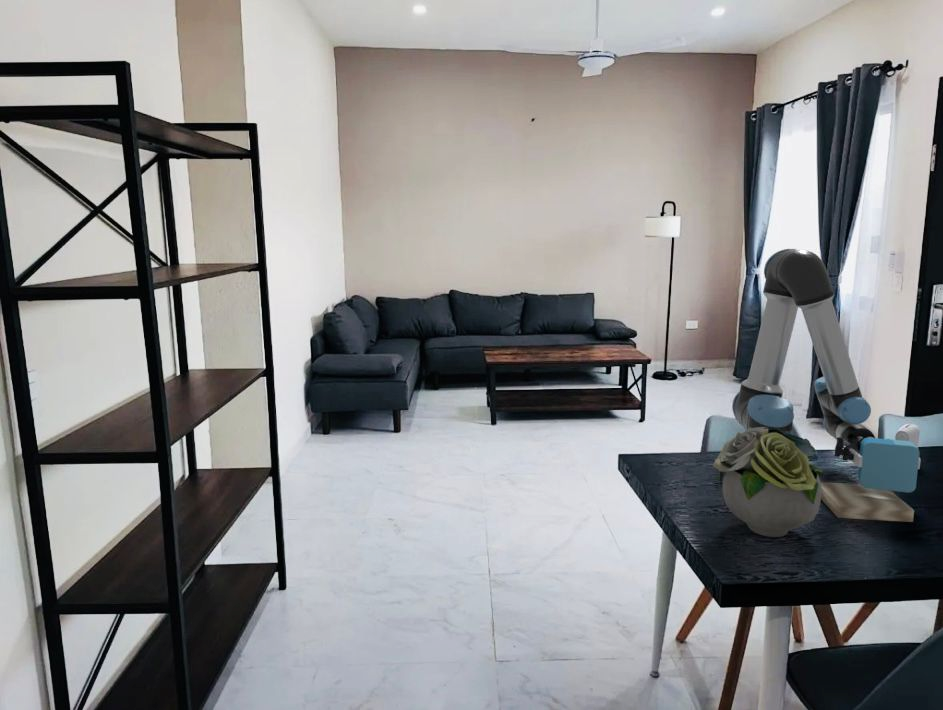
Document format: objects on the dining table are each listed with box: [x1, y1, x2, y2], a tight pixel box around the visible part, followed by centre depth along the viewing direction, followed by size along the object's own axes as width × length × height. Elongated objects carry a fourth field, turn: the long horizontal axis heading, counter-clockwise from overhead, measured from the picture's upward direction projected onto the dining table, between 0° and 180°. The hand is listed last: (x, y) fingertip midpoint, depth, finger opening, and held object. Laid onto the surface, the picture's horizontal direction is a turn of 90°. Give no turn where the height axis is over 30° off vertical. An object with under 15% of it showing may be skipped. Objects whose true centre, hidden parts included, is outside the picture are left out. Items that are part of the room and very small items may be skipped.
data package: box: [857, 437, 920, 494], centre depth 170 cm, size 12×4×12 cm, turn 67°
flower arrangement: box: [712, 427, 824, 538], centre depth 158 cm, size 25×25×24 cm
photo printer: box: [894, 423, 921, 449], centre depth 203 cm, size 10×4×12 cm, turn 130°
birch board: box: [821, 481, 915, 523], centre depth 173 cm, size 17×16×3 cm
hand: (889, 463), depth 169 cm, fingers closed on data package, 13 cm apart
